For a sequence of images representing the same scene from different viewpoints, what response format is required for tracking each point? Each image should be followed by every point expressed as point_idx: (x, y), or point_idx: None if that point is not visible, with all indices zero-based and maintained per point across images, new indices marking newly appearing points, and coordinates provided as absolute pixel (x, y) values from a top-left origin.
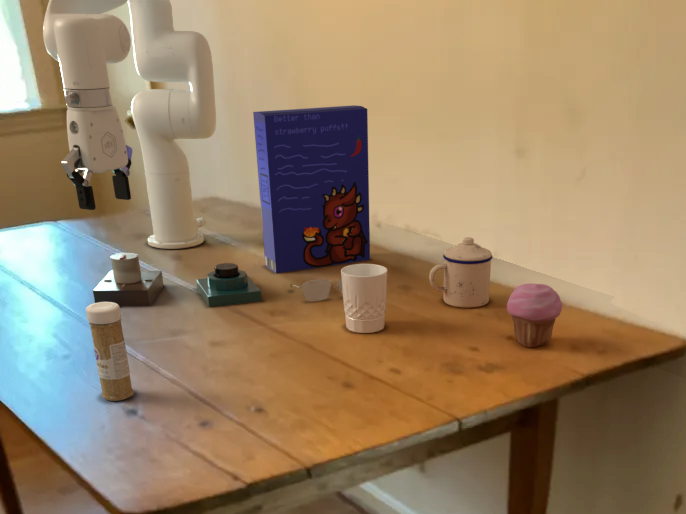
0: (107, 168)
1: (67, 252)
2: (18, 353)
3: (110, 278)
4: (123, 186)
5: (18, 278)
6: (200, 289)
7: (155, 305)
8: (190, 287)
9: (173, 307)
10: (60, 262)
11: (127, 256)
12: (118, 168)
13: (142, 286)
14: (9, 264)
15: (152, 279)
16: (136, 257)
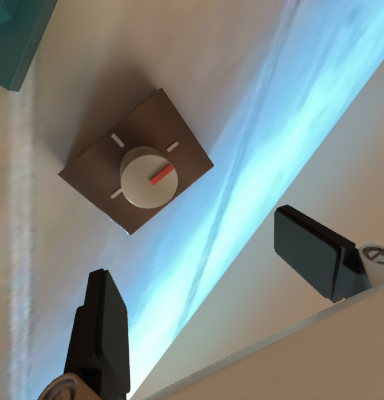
0: (339, 323)
1: None
2: (353, 87)
3: None
4: (110, 319)
5: (184, 313)
6: (32, 46)
7: (145, 86)
8: (23, 117)
9: (131, 43)
10: None
11: (148, 175)
12: (196, 373)
13: (151, 117)
14: (159, 358)
15: (112, 134)
16: (137, 156)
